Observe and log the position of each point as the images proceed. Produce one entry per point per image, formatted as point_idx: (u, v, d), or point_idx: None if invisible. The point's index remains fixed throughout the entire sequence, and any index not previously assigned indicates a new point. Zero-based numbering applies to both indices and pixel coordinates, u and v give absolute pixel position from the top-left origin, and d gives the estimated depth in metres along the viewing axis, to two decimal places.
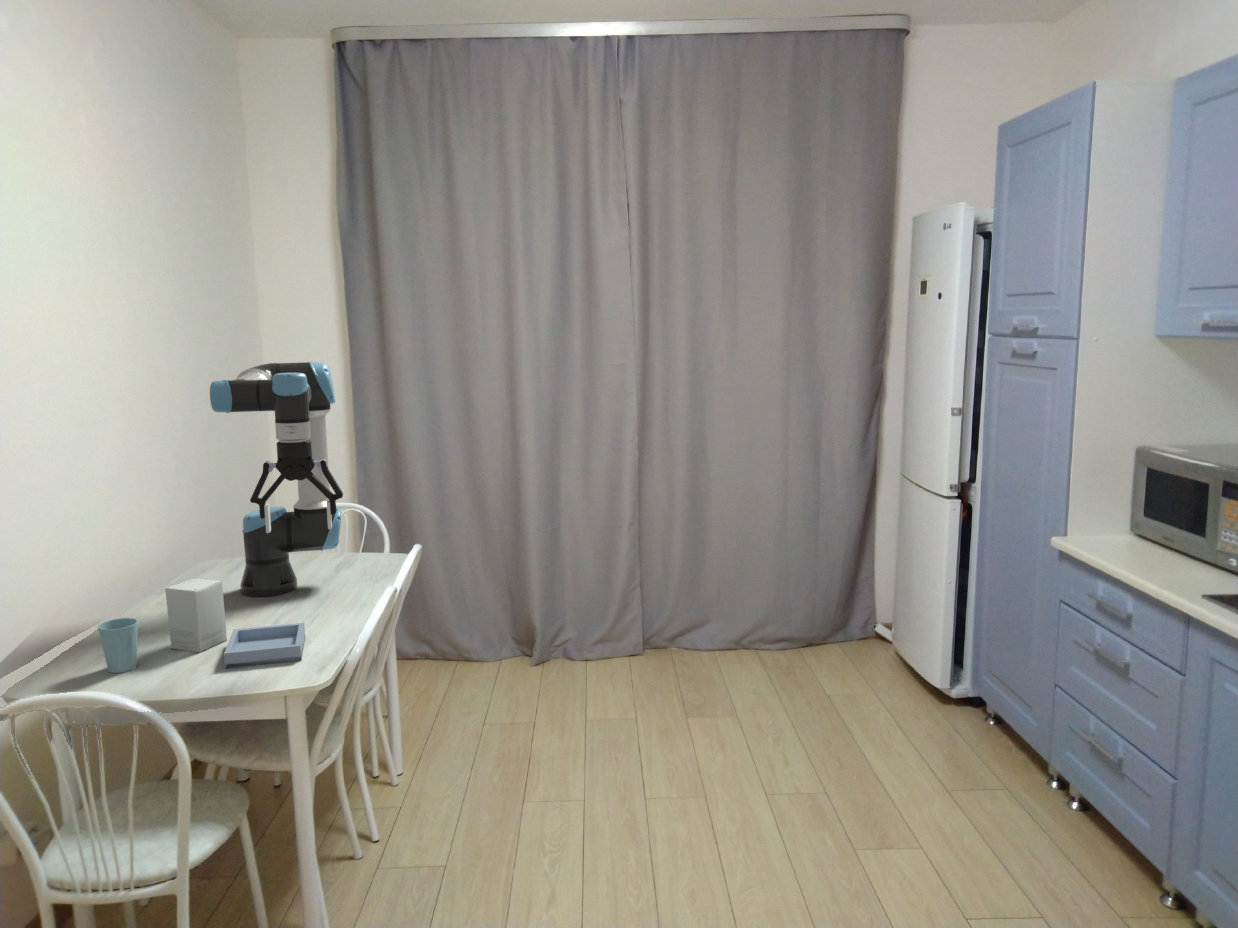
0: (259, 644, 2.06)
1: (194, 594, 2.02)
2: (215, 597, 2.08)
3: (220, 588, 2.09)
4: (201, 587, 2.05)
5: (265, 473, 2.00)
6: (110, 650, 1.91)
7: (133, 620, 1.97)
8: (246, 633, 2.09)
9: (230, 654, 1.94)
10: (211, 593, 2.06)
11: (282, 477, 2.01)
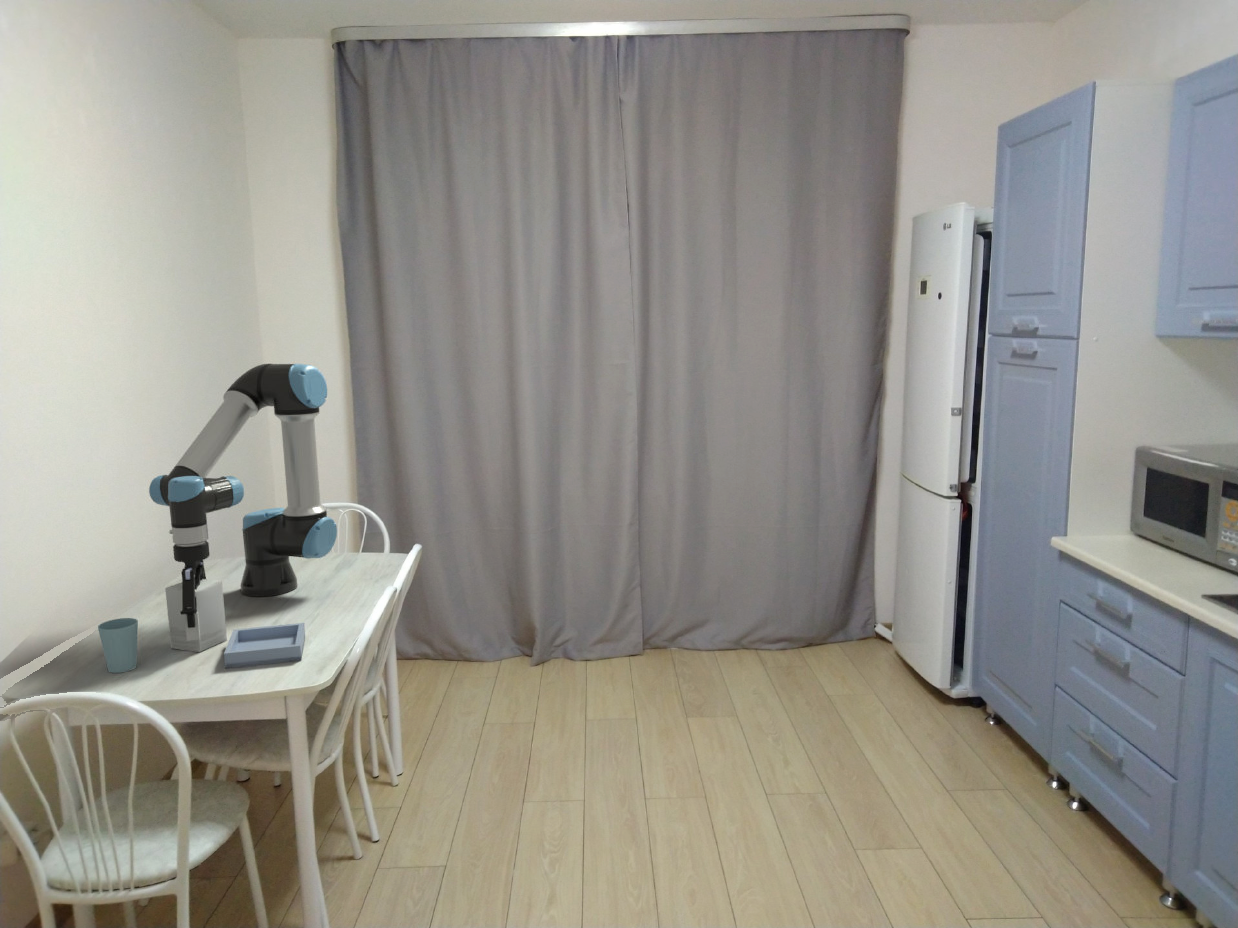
0: (259, 644, 2.06)
1: None
2: (215, 597, 2.08)
3: (220, 587, 2.09)
4: (201, 587, 2.05)
5: None
6: (110, 650, 1.91)
7: (133, 620, 1.97)
8: (246, 633, 2.09)
9: (230, 654, 1.94)
10: (211, 593, 2.06)
11: None
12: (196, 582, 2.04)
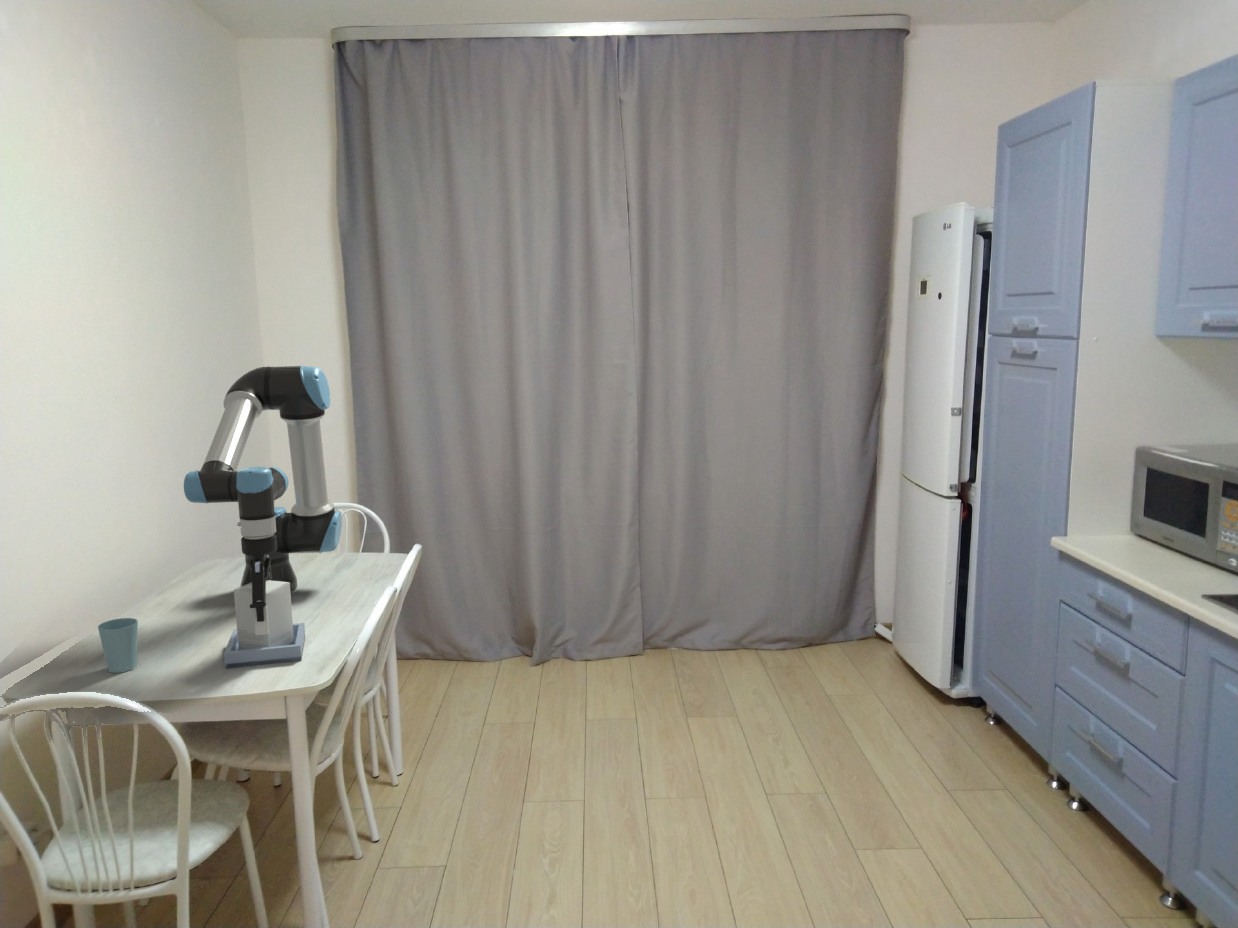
0: None
1: None
2: (284, 598, 2.03)
3: (287, 589, 2.04)
4: (270, 588, 2.00)
5: None
6: (110, 650, 1.91)
7: (133, 620, 1.97)
8: None
9: (230, 654, 1.94)
10: (279, 594, 2.02)
11: None
12: (265, 575, 1.98)
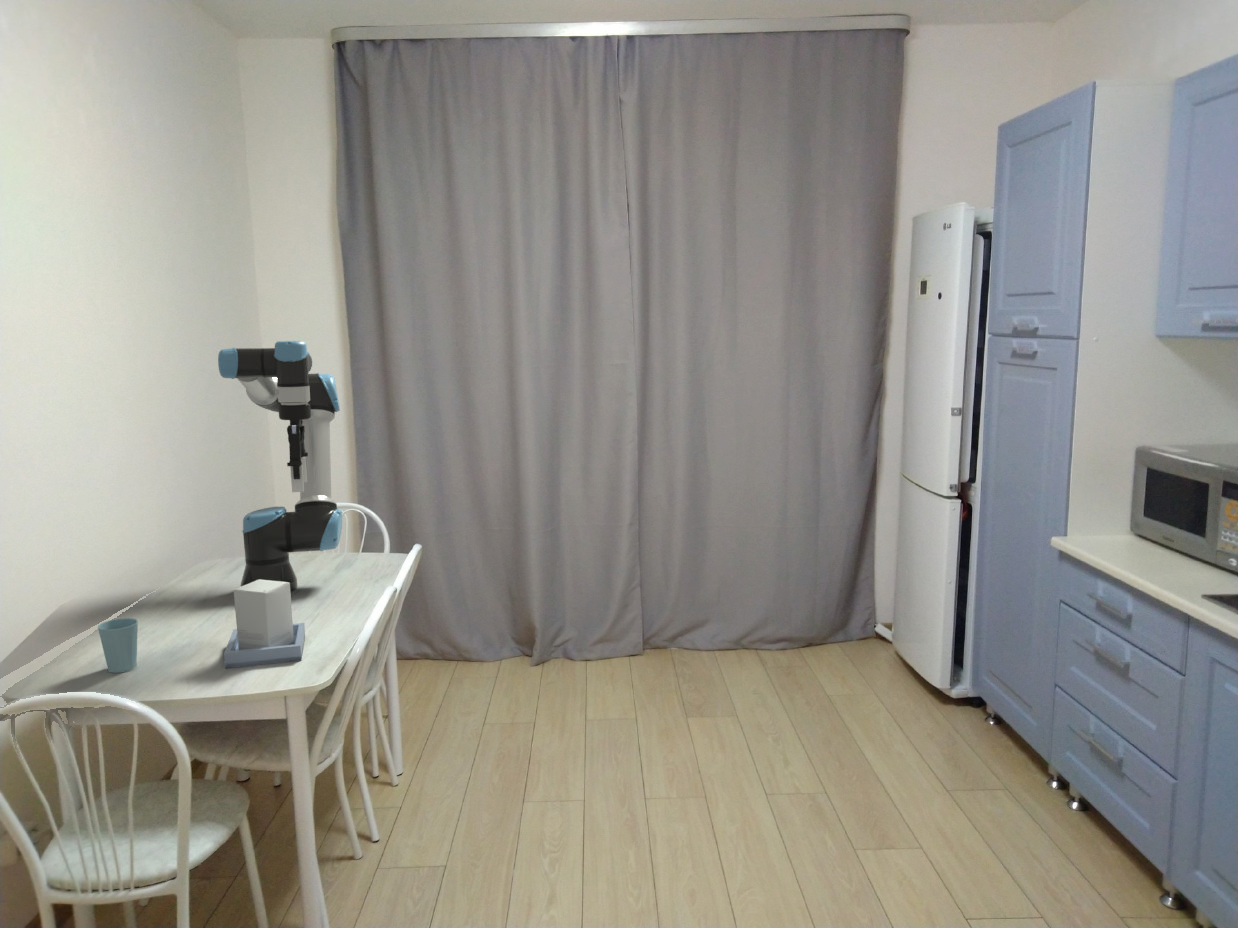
0: None
1: (264, 595, 1.97)
2: (283, 598, 2.03)
3: (288, 589, 2.04)
4: (270, 588, 2.00)
5: None
6: (110, 650, 1.91)
7: (133, 620, 1.97)
8: None
9: (230, 654, 1.94)
10: (279, 594, 2.02)
11: None
12: (300, 439, 2.16)
